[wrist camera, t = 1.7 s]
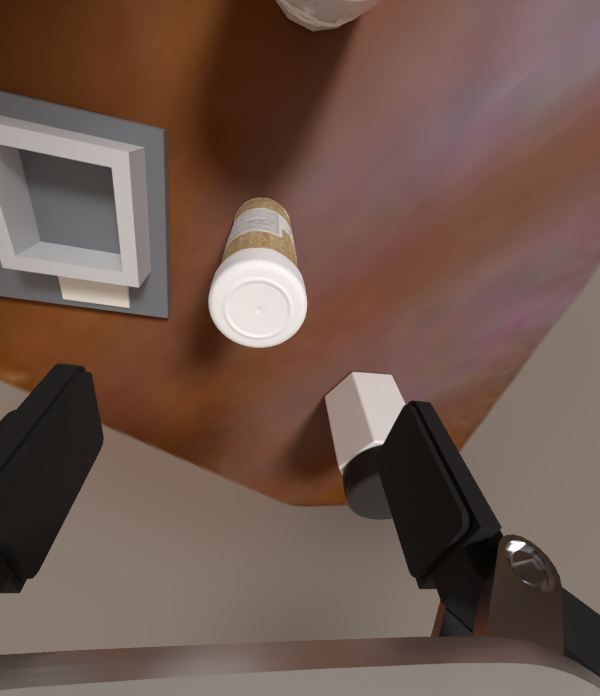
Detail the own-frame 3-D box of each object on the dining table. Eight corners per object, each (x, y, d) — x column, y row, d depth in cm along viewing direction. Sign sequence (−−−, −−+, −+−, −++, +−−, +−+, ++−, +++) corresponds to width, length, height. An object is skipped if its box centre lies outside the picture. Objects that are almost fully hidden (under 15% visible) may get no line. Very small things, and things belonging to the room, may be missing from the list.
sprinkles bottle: (288, 256, 27) (302, 353, 16) (232, 252, 27) (209, 349, 16) (294, 197, 25) (314, 266, 14) (232, 191, 24) (202, 258, 13)
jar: (316, 382, 36) (333, 483, 26) (388, 358, 35) (434, 454, 25) (339, 431, 41) (361, 530, 31) (402, 411, 40) (446, 508, 30)
